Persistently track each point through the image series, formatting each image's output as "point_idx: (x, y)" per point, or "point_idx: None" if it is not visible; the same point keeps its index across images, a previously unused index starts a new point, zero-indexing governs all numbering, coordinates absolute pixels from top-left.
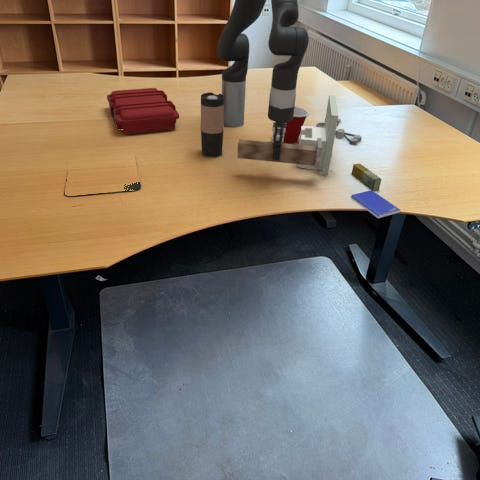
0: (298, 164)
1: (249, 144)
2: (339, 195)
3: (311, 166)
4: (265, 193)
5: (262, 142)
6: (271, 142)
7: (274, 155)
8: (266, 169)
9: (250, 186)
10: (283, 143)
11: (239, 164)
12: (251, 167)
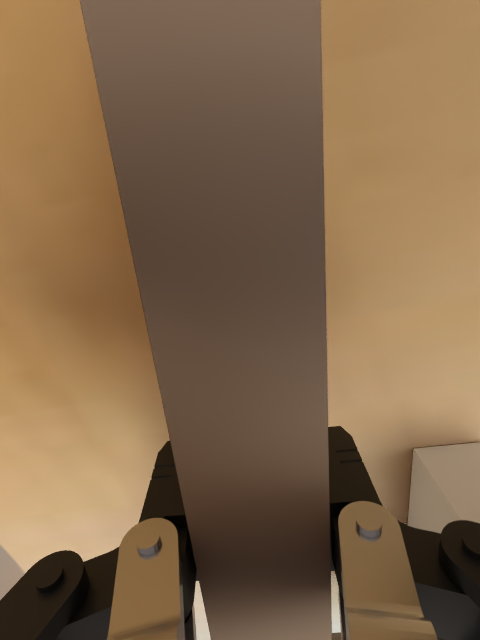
0: (422, 465)
1: (114, 157)
2: None
3: (414, 520)
4: (19, 333)
5: (281, 375)
6: (320, 490)
7: (153, 477)
8: (348, 280)
9: (61, 223)
10: (328, 608)
11: (396, 42)
12: (358, 164)
